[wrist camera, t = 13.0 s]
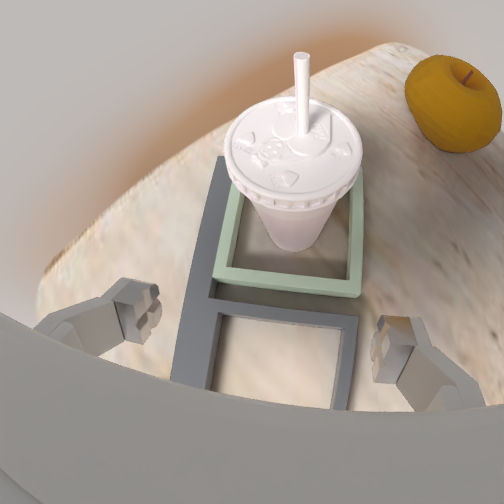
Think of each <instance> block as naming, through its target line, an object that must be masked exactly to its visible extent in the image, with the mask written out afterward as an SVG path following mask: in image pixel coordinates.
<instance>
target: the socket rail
mask: <svg viewBox="0 0 504 504" xmlns="http://www.w3.org/2000/svg"><path fill="white" fill-rule="evenodd" d="M244 198H245V195H244V194H243V193H242V192H240V191H239V190H238V189H237V187H236V186H235V184H234V183H233V181H232V180H231V178H230V177H229V173H228V170H227V166H226V160H225V156H218V158H217V162H216V165H215V169H214V173H213V177H212V181H211V184H210V188H209V192H208V196H207V200H206V204H205V208H204V213H203V217H202V221H201V225H200V229H199V234H198V238H197V242H196V247H195V251H194V256H193V260H192V265H191V269H190V274H189V279H188V284H187V288H186V293H185V298H184V303H183V308H182V314H181V319H180V324H179V329H178V335H177V340H176V346H175V352H174V357H173V363H172V369H171V376H170V381H174V382H177V383H181V384H185V385H189V386H193V387H197V388H201V389H205V390H210V389H211V383H212V377H213V371H214V365H215V359H216V353H217V347H218V341H219V336H220V330H221V324H222V318H223V315H227V316H233V317H240V318H247V319H254V320H261V321H268V322H276V323H284V324H292V325H301V326H310V327H319V328H329V329H339V330H341V337H340V345H339V353H338V360H337V367H336V374H335V381H334V387H333V393H332V399H331V405H330V409H333V410H346V408H347V402H348V396H349V390H350V384H351V377H352V370H353V363H354V356H355V348H356V339H357V330H358V320H359V316H354V315H343V314H333V313H323V312H313V311H304V310H295V309H287V308H279V307H271V306H263V305H255V304H248V303H241V302H233V301H226V300H220V299H215V293H216V288H217V283H226V284H233V285H241V286H249V287H257V288H265V289H273V290H281V291H290V292H299V293H308V294H317V295H326V296H336V297H346V298H357V297H358V296H359V295H360V294H361V281H362V262H363V223H364V203H363V167H360V172H359V174H358V176H357V178H356V180H355V183H354V185H353V186H352V187H351V188H350V201H349V237H348V257H347V273H346V280H340V279H330V278H321V277H312V276H302V275H293V274H284V273H276V272H267V271H258V270H249V269H241V268H233V267H232V262H233V257H234V251H235V246H236V241H237V235H238V230H239V225H240V219H241V214H242V209H243V204H244Z"/></svg>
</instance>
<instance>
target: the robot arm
mask: <svg viewBox="0 0 504 504" xmlns="http://www.w3.org/2000/svg"><path fill="white" fill-rule="evenodd" d="M159 294H160V293H159V288H158V286H157V285H156V284H154V283H149V282H145V281H140V280H135V279H130V278H125V277H123V278H120V279H119V280H118V281H117V282H116V283H115V284H114V285H113V286H112V287H111V288H110V289H109V290H108V291H107V292H105V293H104V294H103V295H102V296H101V297H100V298H99V297H96V298H93V299H90V300H87V301H84V302H82V303H79V304H76V305H73V306H70V307H67V308H65V309H62V310H59V311H56V312H53V313H50V314H48V315H47V316H46V317H45V318H44V319H43V320H42V321H41V322H40V323H39V324H38V325H37V326H36V327H34V328H33V329H31V328H29V327H27V326H25V325H23V324H21V323H19V322H17V321H15V320H14V319H12V318H10V317H8V316H6V315H4V314H2V313H0V504H504V404H499V405H492V406H486V404H485V401H484V398H483V396H482V393H481V390H480V387H479V384H478V383H477V382H476V381H475V380H474V379H473V378H472V377H470V376H469V375H468V374H467V373H466V372H465V371H463V370H462V369H461V368H460V367H459V366H458V365H456V364H455V363H454V362H453V361H452V360H451V359H449V358H448V357H447V356H446V355H445V354H443V353H442V352H441V351H440V350H439V349H438V348H436V347H432V345H431V342H430V339H429V337H428V334H427V331H426V329H425V326H424V324H423V321H422V319H421V318H420V317H400V316H387V315H381V317H380V318H379V321H378V324H377V325H378V330H379V331H377V332H376V333H375V334H374V336H373V339H372V343H371V350H370V355H371V360H372V361H373V362H374V365H373V367H372V372H373V381H374V383H387V384H396V386H397V388H398V389H399V390H400V392H401V393H402V394H403V396H404V397H405V398H406V400H407V401H408V402H409V404H410V405H411V406H412V408H413V409H414V410H415V412H366V411H346V410H333V409H321V408H312V407H303V406H295V405H287V404H280V403H273V402H267V401H261V400H255V399H249V398H244V397H238V396H233V395H228V394H223V393H219V392H214V391H210V390H205V389H201V388H197V387H193V386H189V385H185V384H181V383H177V382H174V381H170V380H166V379H163V378H159V377H156V376H152V375H149V374H146V373H143V372H140V371H136V370H133V369H130V368H127V367H124V366H121V365H118V364H115V363H113V362H110V361H107V360H104V359H102V358H99V357H98V356H99V355H101V354H103V353H105V352H106V351H108V350H110V349H112V348H113V347H115V346H117V345H118V344H120V343H122V342H124V340H127V341H131V342H134V343H138V344H142V345H143V344H144V343H145V342H146V340H147V339H148V337H149V336H150V335H151V331H150V329H152V328H154V327H156V326H157V325H158V323H159V322H160V319H161V316H162V305H161V303H160V301H159V300H158V299H157V297H158V295H159Z"/></svg>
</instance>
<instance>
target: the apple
mask: <svg viewBox="0 0 504 504" xmlns="http://www.w3.org/2000/svg"><path fill="white" fill-rule="evenodd" d="M405 96H406V100H407V103H408V106H409V109H410V111H411V113H412V115H413V117H414V118H415V120H416V122H417V124H418V126H419V127H420V129H421V131H422V132H423V134H424V135H425V136H426V138H427V139H429V140H430V141H431V142H432V143H433V144H434V145H435V146H437V147H438V148H439V149H441V150H444V151H448V152H455V153H465V152H473V151H475V150H478V149H480V148H483V147H485V146H487V145H488V144H489V143H490V142H491V141H492V140H493V139H494V137H495V136H496V135H497V134H498V133H499V131H500V128H501V122H502V108H501V104H500V99H499V97H498V93H497V91H496V89H495V88H494V86H493V85H492V84H491V83H490V81H489V80H488V79H487V78H486V77H485V76H484V75H483V74H482V73H481V72H480V71H479V70H477V69H476V68H475V67H473V66H472V65H470V64H469V63H467V62H465V61H463V60H460V59H458V58H454V57H451V56H444V55H434V56H432V57H429V58H427V59H425V60H423V61H420V62H419V63H418V64H417V65H416V66H415V67H414V68H413V70H412V71H411V72H410V74H409V76H408V78H407V80H406V82H405Z"/></svg>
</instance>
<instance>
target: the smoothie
mask: <svg viewBox="0 0 504 504" xmlns="http://www.w3.org/2000/svg"><path fill="white" fill-rule="evenodd" d="M294 72H295V96H283V97H276V98H272V99H268V100H265V101H262V102H260V103H257V104H255V105H253V106H251V107H250V108H248V109H247V110H245V111H244V112H243V113H241V114H240V115H239V116H238V117H237V118H236V119H235V120H234V122H233V123H232V124H231V126H230V128H229V129H228V132H227V134H226V137H225V141H224V156H225V160H226V166H227V170H228V173H229V177H230V178H231V180H232V181H233V183H234V184H235V186H236V187H237V189H238V190H239V191H240V192H242V193H243V194H244V195H245V196H246V197H248V198H249V199H250V200H251V202H252V204H253V206H254V208H255V209H256V211H257V213H258V215H259V217H260V219H261V220H262V222H263V224H264V226H265V228H266V230H267V231H268V233H269V235H270V237H271V239H272V240H273V242H274V243H275V244H276V245H277V246H278V247H280V248H281V249H284V250H286V251H291V252H298V251H302V250H305V249H307V248H309V247H310V246H312V245H313V244H314V243H315V241H316V240H317V238H318V236H319V234H320V233H321V231H322V229H323V227H324V225H325V223H326V222H327V220H328V218H329V216H330V214H331V212H332V211H333V209H334V207H335V205H336V203H337V201H338V200H339V199H340V198H342V197H343V196H344V195H345V193H346V192H347V191H348V190H349V189H350V188H351V187H352V186H353V185H354V183H355V180H356V178H357V176H358V174H359V172H360V163H361V159H362V153H363V149H362V141H361V138H360V135H359V132H358V130H357V129H356V127H355V125H354V124H353V123H352V121H351V120H350V119H349V118H348V117H347V116H346V115H345V114H343V113H342V112H341V111H340V110H338V109H337V108H335V107H333V106H332V105H330V104H327V103H325V102H322V101H320V100H316V99H313V98H309V92H310V55H309V54H307V53H305V52H297V53H295V54H294Z"/></svg>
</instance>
